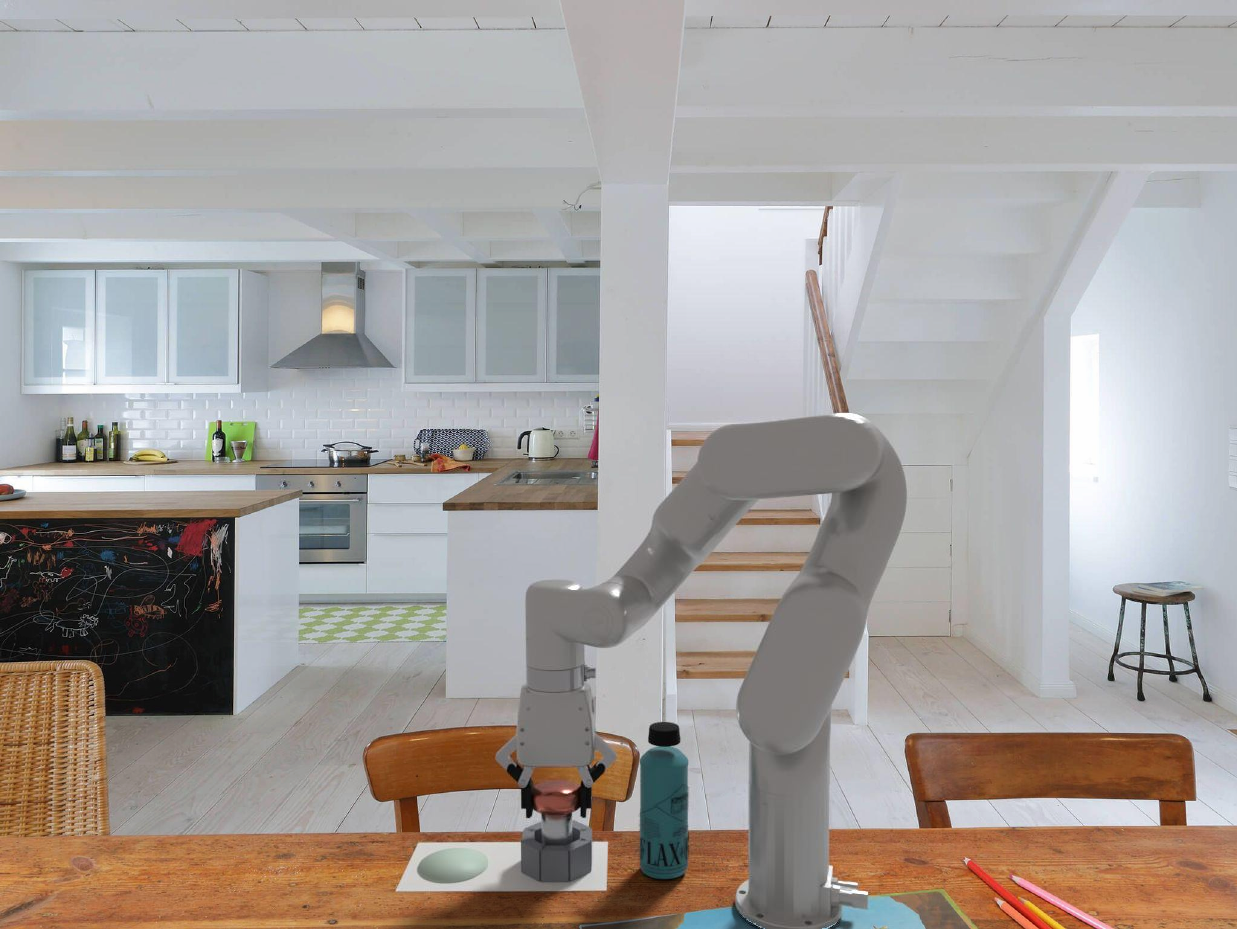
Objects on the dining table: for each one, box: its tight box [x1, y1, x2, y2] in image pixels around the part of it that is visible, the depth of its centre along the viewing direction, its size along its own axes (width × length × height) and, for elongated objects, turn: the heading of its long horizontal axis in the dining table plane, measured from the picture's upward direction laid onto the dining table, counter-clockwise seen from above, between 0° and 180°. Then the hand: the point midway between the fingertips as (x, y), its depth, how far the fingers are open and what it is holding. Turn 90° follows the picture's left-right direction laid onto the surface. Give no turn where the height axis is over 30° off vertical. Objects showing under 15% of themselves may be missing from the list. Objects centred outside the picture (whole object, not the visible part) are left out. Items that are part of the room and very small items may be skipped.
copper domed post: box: [532, 779, 581, 846], centre depth 119 cm, size 6×6×10 cm
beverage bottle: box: [638, 721, 690, 880], centre depth 117 cm, size 6×7×20 cm
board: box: [395, 819, 609, 893], centre depth 119 cm, size 26×13×5 cm, turn 90°
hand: (556, 812), depth 119 cm, fingers closed on copper domed post, 6 cm apart
